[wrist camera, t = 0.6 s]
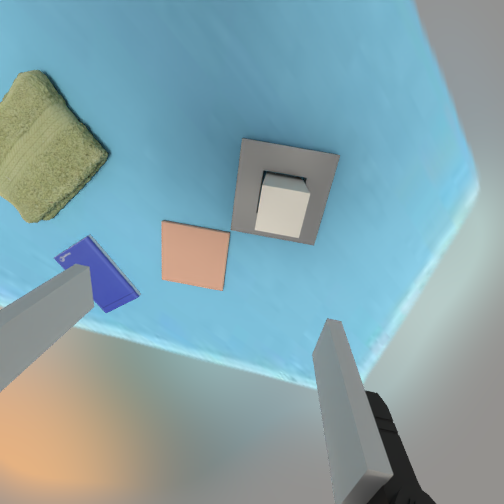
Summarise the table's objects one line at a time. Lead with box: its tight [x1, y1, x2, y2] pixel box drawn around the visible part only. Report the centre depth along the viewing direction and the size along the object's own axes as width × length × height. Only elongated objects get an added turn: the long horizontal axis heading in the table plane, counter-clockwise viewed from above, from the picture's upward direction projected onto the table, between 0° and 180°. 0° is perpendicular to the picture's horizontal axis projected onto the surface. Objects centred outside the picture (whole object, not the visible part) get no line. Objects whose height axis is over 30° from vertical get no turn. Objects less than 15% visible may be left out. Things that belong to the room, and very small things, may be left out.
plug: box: [255, 172, 310, 238], centre depth 28 cm, size 4×4×10 cm
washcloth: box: [0, 70, 108, 223], centre depth 33 cm, size 13×18×3 cm
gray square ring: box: [231, 138, 340, 245], centre depth 31 cm, size 11×11×2 cm
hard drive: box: [54, 235, 141, 313], centre depth 41 cm, size 2×8×12 cm
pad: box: [162, 220, 230, 291], centre depth 38 cm, size 10×10×1 cm
